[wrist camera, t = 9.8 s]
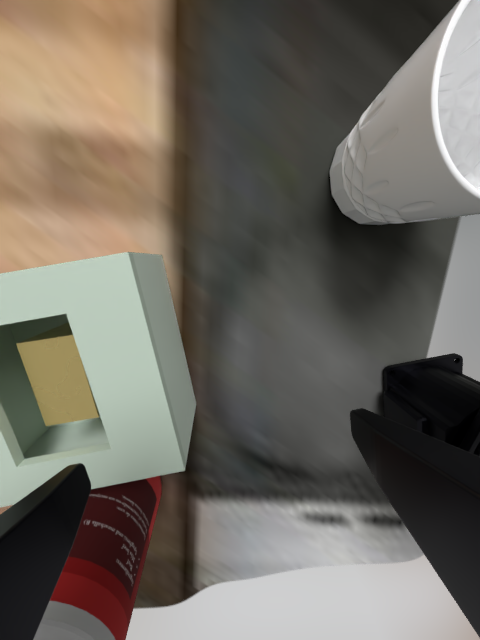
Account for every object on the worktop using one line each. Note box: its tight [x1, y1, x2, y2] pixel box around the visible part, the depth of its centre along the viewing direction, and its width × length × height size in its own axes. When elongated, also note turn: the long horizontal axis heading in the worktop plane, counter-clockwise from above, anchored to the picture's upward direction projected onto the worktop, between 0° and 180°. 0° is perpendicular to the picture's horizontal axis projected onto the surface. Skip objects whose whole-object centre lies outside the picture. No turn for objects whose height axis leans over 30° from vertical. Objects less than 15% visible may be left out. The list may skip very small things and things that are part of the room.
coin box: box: [0, 252, 196, 507], centre depth 16 cm, size 12×12×7 cm
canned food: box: [33, 476, 161, 640], centre depth 17 cm, size 8×8×11 cm
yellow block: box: [16, 322, 100, 426], centre depth 17 cm, size 3×5×5 cm, turn 8°
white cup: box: [329, 0, 480, 225], centre depth 14 cm, size 8×8×10 cm
